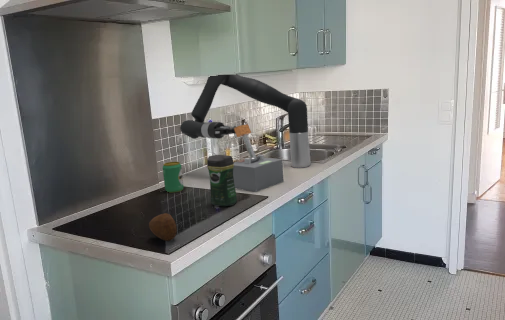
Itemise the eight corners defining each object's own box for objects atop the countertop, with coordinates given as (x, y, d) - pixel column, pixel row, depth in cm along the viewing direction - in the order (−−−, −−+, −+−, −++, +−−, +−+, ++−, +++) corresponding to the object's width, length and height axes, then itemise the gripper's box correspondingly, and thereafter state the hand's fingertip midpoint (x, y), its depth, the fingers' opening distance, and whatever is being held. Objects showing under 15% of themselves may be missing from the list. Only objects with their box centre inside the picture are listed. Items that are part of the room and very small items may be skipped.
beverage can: (181, 192, 179) (178, 164, 176) (163, 193, 179) (159, 165, 177) (185, 187, 187) (182, 160, 184) (168, 188, 187) (165, 162, 185)
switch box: (256, 177, 195) (254, 151, 192) (283, 181, 184) (281, 154, 181) (228, 187, 182) (226, 159, 179) (256, 191, 171) (253, 162, 169)
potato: (166, 246, 121) (163, 220, 120) (145, 239, 127) (142, 214, 126) (185, 237, 127) (183, 212, 125) (165, 231, 133) (162, 207, 131)
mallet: (257, 161, 184) (243, 126, 185) (262, 158, 182) (247, 124, 183) (248, 164, 179) (233, 128, 181) (252, 161, 177) (238, 125, 179)
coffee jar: (240, 202, 158) (236, 153, 154) (226, 208, 152) (222, 158, 148) (221, 199, 164) (217, 152, 160) (207, 205, 158) (202, 156, 154)
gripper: (201, 123, 190) (227, 124, 178) (222, 120, 199) (249, 120, 187) (203, 140, 191) (229, 141, 179) (224, 136, 201) (250, 137, 189)
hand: (239, 130), depth 183 cm, fingers closed
